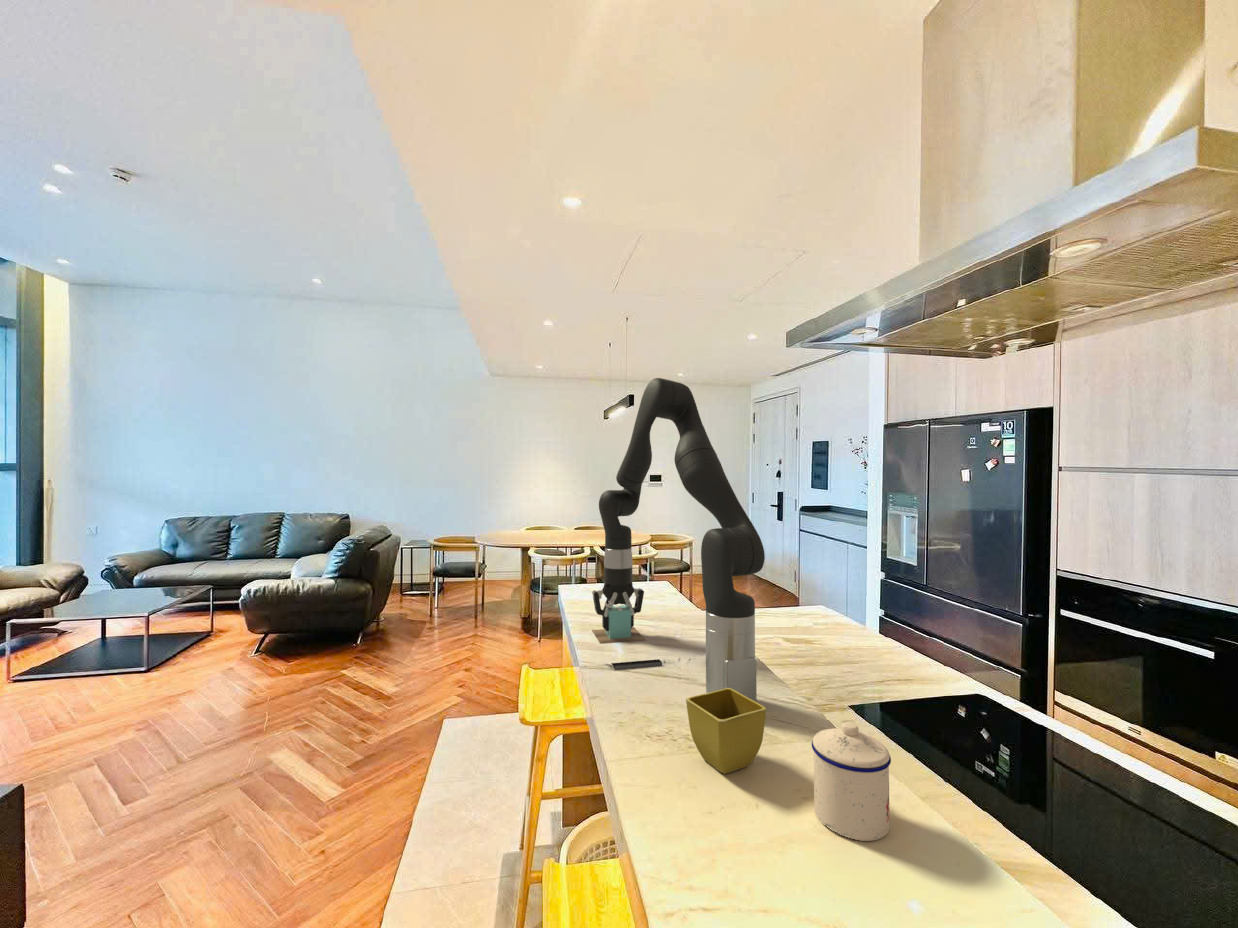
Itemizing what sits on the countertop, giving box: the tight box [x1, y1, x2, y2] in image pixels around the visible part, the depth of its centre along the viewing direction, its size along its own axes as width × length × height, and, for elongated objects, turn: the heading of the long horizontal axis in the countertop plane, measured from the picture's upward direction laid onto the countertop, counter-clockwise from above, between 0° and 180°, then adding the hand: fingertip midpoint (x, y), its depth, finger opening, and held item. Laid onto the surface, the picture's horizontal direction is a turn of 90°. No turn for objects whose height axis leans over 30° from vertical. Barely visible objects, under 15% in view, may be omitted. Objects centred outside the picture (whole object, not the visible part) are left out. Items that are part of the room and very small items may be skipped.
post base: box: [591, 626, 647, 645], centre depth 136 cm, size 12×12×7 cm
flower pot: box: [685, 688, 767, 775], centre depth 78 cm, size 9×9×9 cm
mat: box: [610, 658, 663, 671], centre depth 122 cm, size 11×11×1 cm
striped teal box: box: [605, 604, 631, 639], centre depth 136 cm, size 6×6×7 cm
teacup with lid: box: [811, 721, 892, 842], centre depth 66 cm, size 12×9×12 cm
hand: (618, 629), depth 136 cm, fingers closed on striped teal box, 5 cm apart
